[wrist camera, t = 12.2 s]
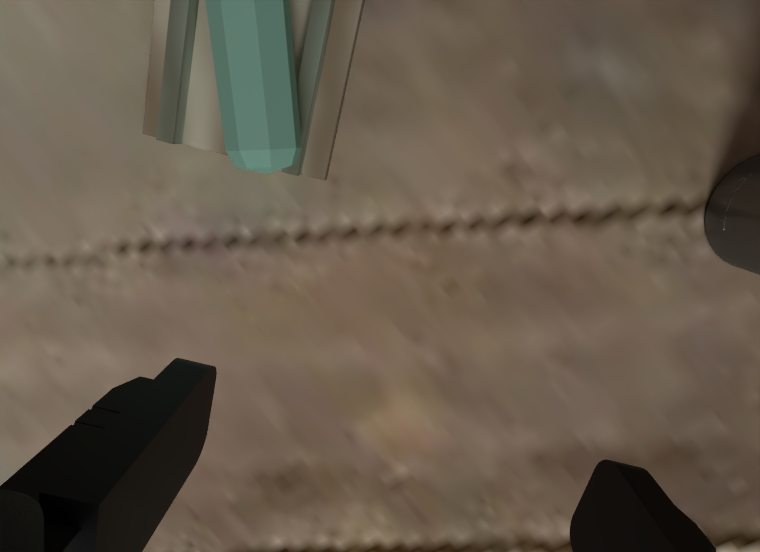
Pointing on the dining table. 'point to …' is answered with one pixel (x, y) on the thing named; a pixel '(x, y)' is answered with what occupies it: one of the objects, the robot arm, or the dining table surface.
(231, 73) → the teal green cylinder
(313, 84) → the rail
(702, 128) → the dining table surface
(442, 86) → the dining table surface
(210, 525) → the dining table surface
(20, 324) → the dining table surface
